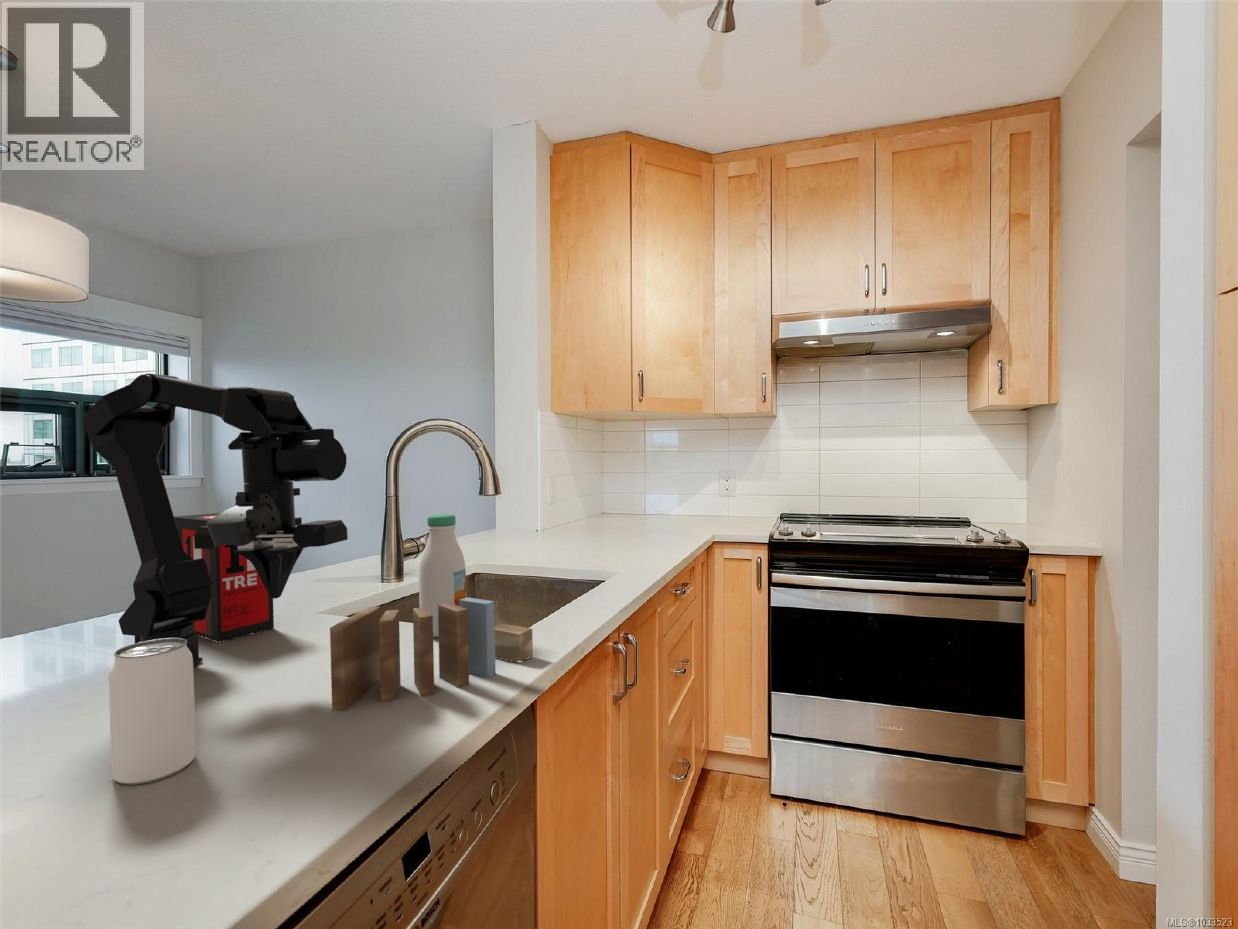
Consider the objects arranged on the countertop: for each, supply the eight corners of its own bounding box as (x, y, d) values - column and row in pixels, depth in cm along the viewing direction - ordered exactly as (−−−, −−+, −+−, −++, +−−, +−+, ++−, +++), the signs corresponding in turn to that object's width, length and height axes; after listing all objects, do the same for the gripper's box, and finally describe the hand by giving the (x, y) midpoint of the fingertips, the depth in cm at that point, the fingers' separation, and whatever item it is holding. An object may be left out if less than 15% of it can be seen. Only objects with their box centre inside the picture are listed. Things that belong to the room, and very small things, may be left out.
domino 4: (458, 688, 77) (456, 611, 77) (439, 677, 81) (437, 604, 80) (468, 684, 78) (467, 609, 78) (450, 674, 82) (448, 602, 82)
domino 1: (332, 711, 71) (329, 627, 70) (370, 680, 80) (369, 606, 80) (345, 711, 70) (343, 627, 70) (382, 680, 80) (380, 606, 80)
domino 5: (487, 677, 81) (486, 604, 80) (460, 671, 83) (459, 600, 83) (495, 673, 82) (494, 601, 82) (468, 667, 84) (467, 597, 84)
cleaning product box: (173, 628, 106) (170, 516, 106) (228, 616, 114) (225, 512, 113) (218, 642, 97) (214, 521, 97) (273, 628, 105) (270, 516, 105)
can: (143, 753, 61) (140, 637, 61) (210, 750, 62) (206, 635, 61) (93, 789, 55) (89, 659, 54) (168, 785, 55) (164, 656, 55)
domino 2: (380, 701, 73) (379, 621, 73) (387, 686, 78) (385, 610, 78) (394, 700, 73) (392, 620, 73) (400, 685, 78) (398, 609, 78)
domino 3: (421, 696, 74) (419, 617, 74) (414, 683, 79) (412, 608, 79) (434, 694, 75) (432, 615, 75) (426, 681, 80) (425, 606, 79)
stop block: (519, 663, 86) (519, 634, 86) (488, 656, 89) (487, 628, 89) (532, 656, 88) (532, 628, 88) (501, 650, 91) (501, 623, 91)
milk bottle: (441, 641, 96) (439, 518, 96) (410, 634, 100) (407, 516, 100) (476, 629, 103) (474, 514, 102) (445, 623, 107) (443, 512, 107)
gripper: (152, 489, 73) (160, 615, 73) (291, 484, 70) (299, 614, 71) (224, 483, 84) (230, 592, 84) (346, 479, 81) (352, 591, 82)
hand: (275, 597), depth 80 cm, fingers closed
